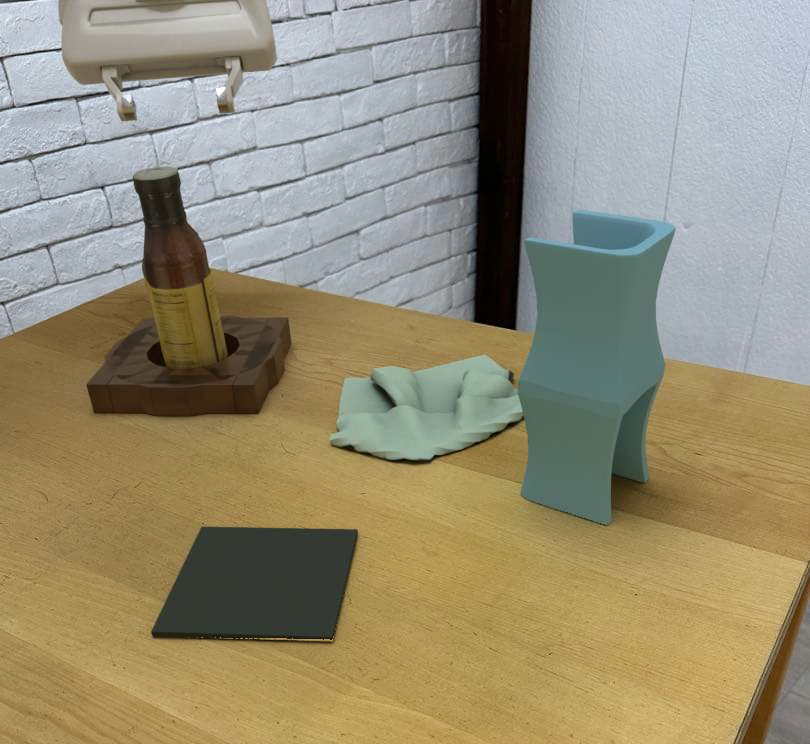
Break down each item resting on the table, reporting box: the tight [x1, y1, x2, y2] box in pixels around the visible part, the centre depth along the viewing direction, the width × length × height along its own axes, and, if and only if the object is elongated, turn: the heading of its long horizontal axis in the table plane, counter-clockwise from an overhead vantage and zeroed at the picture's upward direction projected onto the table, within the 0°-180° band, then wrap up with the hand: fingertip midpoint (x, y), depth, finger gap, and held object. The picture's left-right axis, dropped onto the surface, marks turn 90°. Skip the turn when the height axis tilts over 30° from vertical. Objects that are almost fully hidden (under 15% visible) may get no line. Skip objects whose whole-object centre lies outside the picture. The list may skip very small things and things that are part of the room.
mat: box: [150, 526, 359, 640], centre depth 63 cm, size 12×12×1 cm
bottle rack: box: [85, 315, 292, 417], centre depth 91 cm, size 17×17×3 cm
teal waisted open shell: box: [517, 208, 677, 526], centre depth 66 cm, size 8×8×20 cm
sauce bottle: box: [132, 166, 228, 368], centre depth 86 cm, size 6×6×20 cm
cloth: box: [329, 354, 524, 462], centre depth 83 cm, size 20×22×2 cm
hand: (177, 113), depth 87 cm, fingers open, 8 cm apart
